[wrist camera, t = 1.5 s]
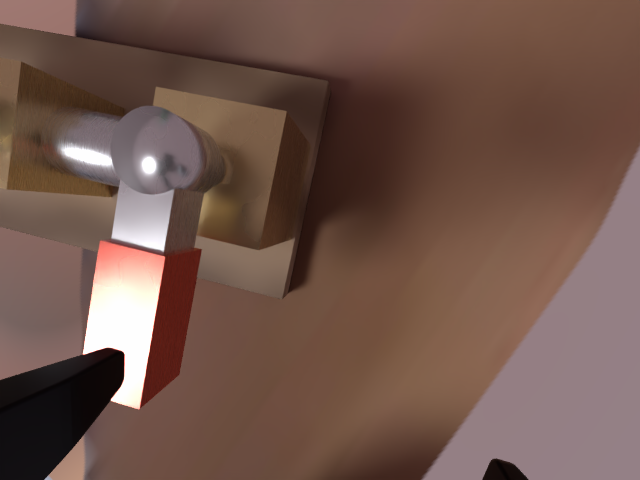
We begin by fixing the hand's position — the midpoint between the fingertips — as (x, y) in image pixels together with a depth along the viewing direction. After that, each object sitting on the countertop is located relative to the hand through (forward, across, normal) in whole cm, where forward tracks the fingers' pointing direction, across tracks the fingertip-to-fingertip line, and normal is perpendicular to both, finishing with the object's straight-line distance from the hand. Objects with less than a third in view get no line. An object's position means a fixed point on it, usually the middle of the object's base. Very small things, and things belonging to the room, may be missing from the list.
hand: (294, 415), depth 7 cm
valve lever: (+4, +6, -1) cm, 7 cm away
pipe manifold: (+12, +15, -3) cm, 19 cm away
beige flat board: (+14, +14, -3) cm, 20 cm away
